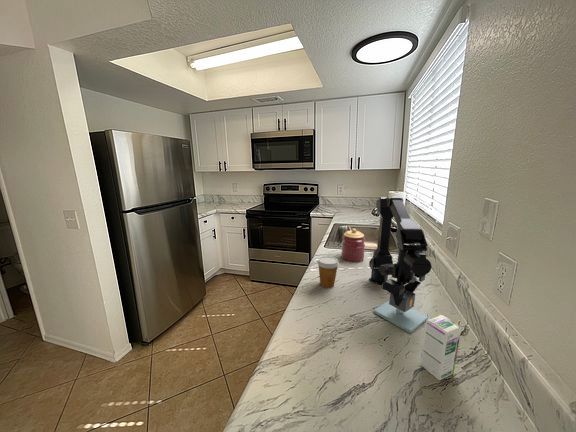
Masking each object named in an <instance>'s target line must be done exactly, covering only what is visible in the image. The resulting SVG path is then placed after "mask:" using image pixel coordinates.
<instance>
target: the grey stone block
mask: <svg viewBox="0 0 576 432" xmlns="http://www.w3.org/2000/svg"><path fill="white" fill-rule="evenodd" d="M403 313H404V312H403V311H401V310H399V309H397V308H396V314H398V315H402V314H403Z"/></svg>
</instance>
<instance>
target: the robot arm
mask: <svg viewBox="0 0 576 432" xmlns="http://www.w3.org/2000/svg"><path fill="white" fill-rule="evenodd" d="M375 207H376V211H377V214H378V215H379V226H378V227H379V229H378V237H377V238H378V239H377V240H378V241H377V248H376V249H375V250H374V251H373V254H372V257H371V258H370V260H369V263H368V264H369V265H368V267H369V268H370V269H371V271H370V273H371V274H370V275H371V276H370V278H368V280H369V281H371V282H373V283H375V284H378V285H380V286H381V289H382V290H384V291H387V293H392V294H393V298H394V302H395V305H397V306H399V304H400V303H401V301H402V299H403V298H404V296H405V294H406V291H405V289H406V290H408V291H410V292H413V293H415V292H416V290H417V288H419V286H420V285H421V283H422V282H424V281H425V280H426V276H427V274H429V273H430V272H431V270H432V263H431V261H430V260H429V259H428V258H427V254H426V253H424V252H427V251H428V242H427V239H426V236H425V233H424V230H423V229H422V228H421V226H420V225H419V224H418V223H417V222H415V221H413V220H412V218H411V216H410V214H409V212H408V210H407V208H406V206H405V204H404V199H403V197H402V196H389V197H388V196H387V197H379V199H377V200H376V203H375ZM393 218H394V220H395V224H396V225H397V229H396V240H397V243H398V246H399V247H398V255H397V262H395V263H394V261H393V256H392V254H391V252H390V251H389V249H390V242H391V232H392V231H391V230H392V221H393ZM389 276H391V277H392V278H393V279H392V278H388V277H389ZM418 280H419V281H418Z"/></svg>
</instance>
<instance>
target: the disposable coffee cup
mask: <svg viewBox="0 0 576 432" xmlns="http://www.w3.org/2000/svg"><path fill="white" fill-rule="evenodd" d="M316 263H317V266H318V273H319V284H320V286H321V287H323V288H327V289H329V288H333V287H334V286H335V283H336V277H337V270H338V267H339V264H340V262H339V259H338V258H336V257H333V256H331V255H330V256H329V255H328V256H327V255H324V256H320V257H319V258H318V259H317V262H316Z"/></svg>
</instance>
